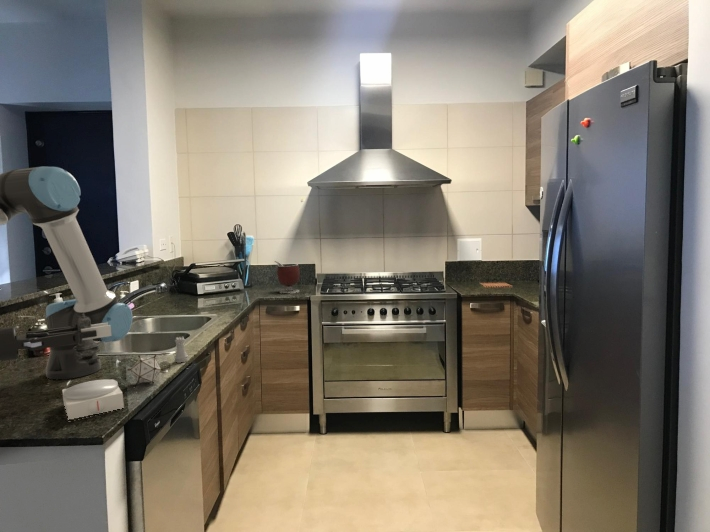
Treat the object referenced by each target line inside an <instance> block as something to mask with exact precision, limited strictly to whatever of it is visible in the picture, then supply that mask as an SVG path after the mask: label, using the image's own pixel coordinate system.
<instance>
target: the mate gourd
mask: <svg viewBox="0 0 710 532" xmlns="http://www.w3.org/2000/svg"><path fill="white" fill-rule="evenodd" d="M274 263H276V264H277V268H276V269H277V270H276V276H277V280H278V282H279V283H280V285H282V286H285V287H286V289H284V290H280V291H279V294H282V293H290V294H296V292H297V293H300V290H299V289H293V287H292V286H294V285H296V284H298V282H299V280H300V275H301V274H300V272H301V271H300V267H299V264H298V263H286V264H282V263H281V262H279V261H276V260H274Z"/></svg>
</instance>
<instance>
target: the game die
mask: <svg viewBox="0 0 710 532" xmlns="http://www.w3.org/2000/svg"><path fill="white" fill-rule="evenodd" d="M137 356H138V359H137V360H136V362H134V364H133V365H132V367H131V368H128V369H126V370H127V371H131V373H132V375H133V377H134V379H135V381H136V383H135V385H136V386H137V385H139V383H151V384H152V385H155V382H154V381H155V379H156V378H157V377H158V376H159V374H160V372H161V371H162V372H163V371H165V369H164V368H162V367H161V365H160V364H159V362H158V361H157V359H156V357H157V354H154V355H153V356H145V357H143V356H142V357H141V355H139V354H138V355H137Z"/></svg>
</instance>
